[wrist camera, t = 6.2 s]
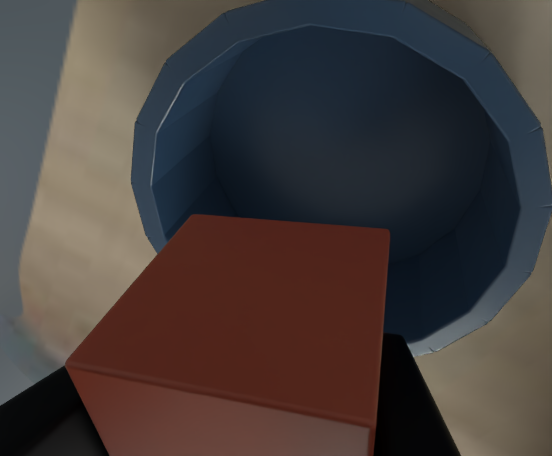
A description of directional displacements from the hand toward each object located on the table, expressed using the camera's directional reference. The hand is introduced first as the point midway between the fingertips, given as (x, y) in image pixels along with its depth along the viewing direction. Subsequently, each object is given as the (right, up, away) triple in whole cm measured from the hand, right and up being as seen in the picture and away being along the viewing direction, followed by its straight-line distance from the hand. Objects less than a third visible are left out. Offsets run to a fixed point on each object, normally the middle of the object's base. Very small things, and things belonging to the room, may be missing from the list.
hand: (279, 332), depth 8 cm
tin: (+2, +5, +7) cm, 9 cm away
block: (0, +1, +1) cm, 1 cm away
